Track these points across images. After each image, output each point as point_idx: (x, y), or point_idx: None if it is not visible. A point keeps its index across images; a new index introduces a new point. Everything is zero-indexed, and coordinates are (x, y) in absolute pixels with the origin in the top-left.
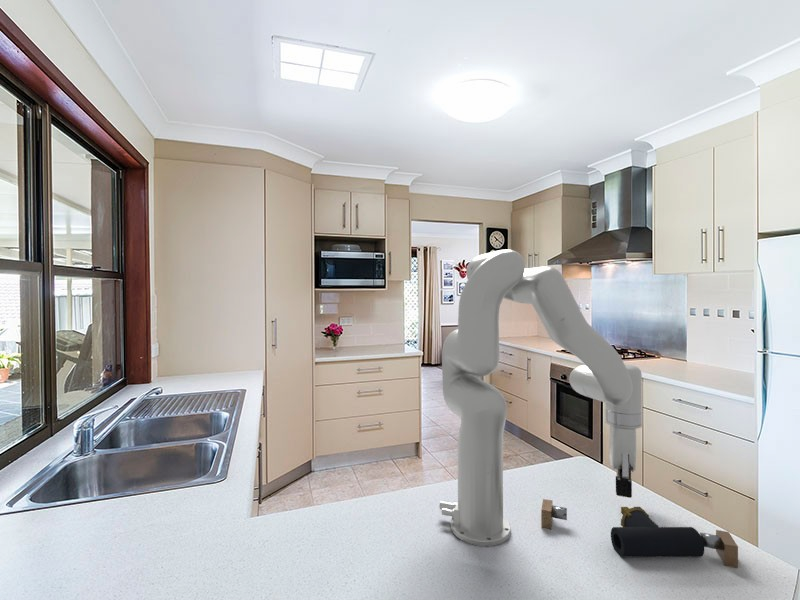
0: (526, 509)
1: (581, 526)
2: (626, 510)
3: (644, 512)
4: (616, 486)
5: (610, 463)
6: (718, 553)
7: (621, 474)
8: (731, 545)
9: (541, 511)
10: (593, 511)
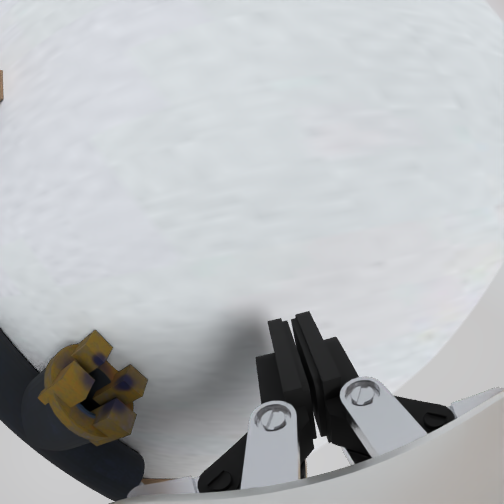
0: (27, 8)
1: (8, 204)
2: (54, 393)
3: (97, 440)
4: (276, 351)
5: (275, 496)
6: (161, 481)
7: (200, 486)
8: None
9: None
10: (140, 205)
